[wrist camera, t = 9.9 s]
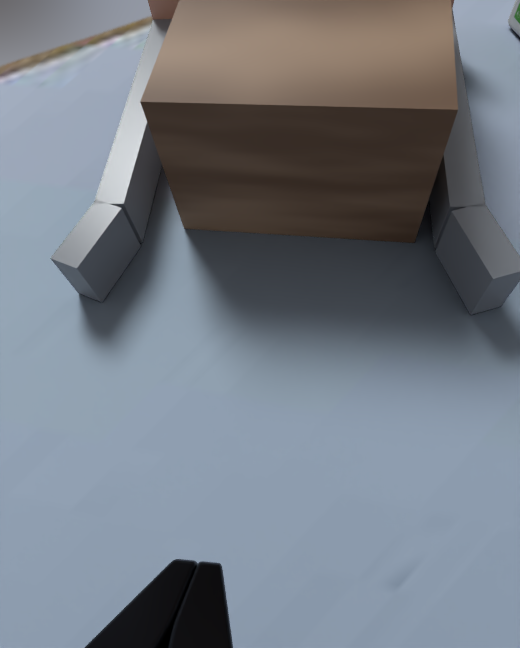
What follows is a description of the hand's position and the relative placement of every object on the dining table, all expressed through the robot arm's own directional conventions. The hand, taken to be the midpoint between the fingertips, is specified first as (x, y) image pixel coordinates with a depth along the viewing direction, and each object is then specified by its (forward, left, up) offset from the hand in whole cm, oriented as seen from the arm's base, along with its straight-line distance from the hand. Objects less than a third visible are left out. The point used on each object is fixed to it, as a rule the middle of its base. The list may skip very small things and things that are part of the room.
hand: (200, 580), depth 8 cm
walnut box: (+23, +4, -11) cm, 25 cm away
